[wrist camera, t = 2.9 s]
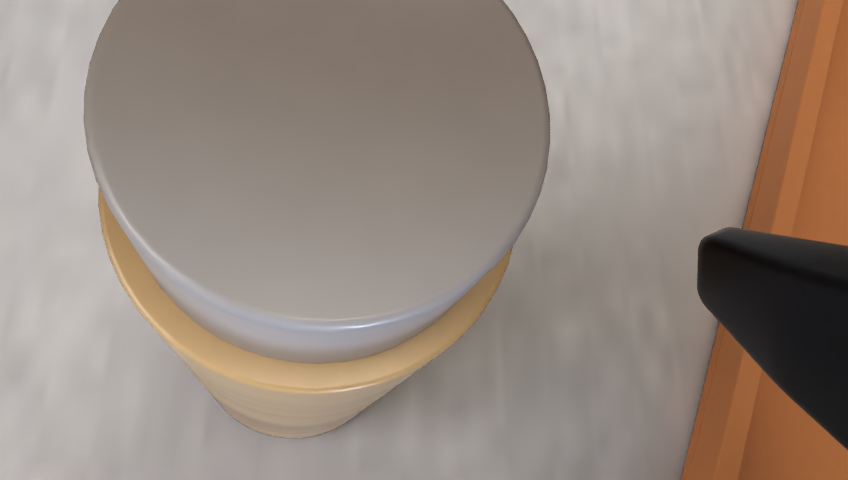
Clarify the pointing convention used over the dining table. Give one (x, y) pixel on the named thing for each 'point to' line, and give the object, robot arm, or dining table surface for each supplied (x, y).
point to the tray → (795, 217)
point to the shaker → (313, 187)
